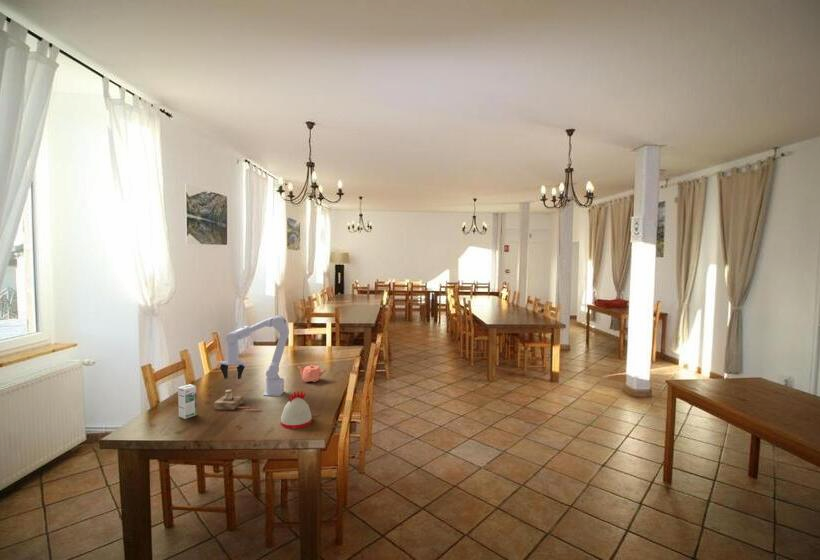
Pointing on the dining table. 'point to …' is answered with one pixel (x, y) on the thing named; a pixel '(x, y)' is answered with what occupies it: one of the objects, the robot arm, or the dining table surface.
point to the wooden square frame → (228, 403)
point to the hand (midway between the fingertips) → (232, 378)
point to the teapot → (311, 373)
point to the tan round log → (228, 395)
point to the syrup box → (187, 401)
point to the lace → (248, 409)
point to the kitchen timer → (296, 412)
